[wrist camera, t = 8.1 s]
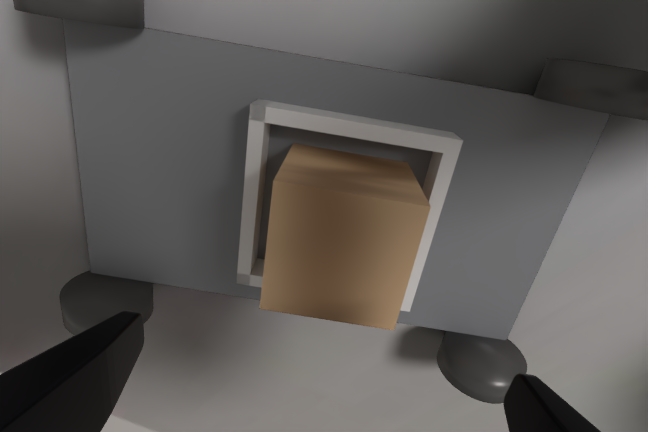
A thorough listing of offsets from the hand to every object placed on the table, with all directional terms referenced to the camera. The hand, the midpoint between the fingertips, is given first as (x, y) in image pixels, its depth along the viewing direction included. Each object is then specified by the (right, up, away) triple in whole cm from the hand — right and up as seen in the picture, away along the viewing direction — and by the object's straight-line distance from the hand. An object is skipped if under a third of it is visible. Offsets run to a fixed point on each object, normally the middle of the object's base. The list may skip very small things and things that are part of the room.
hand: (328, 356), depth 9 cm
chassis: (0, +4, +9) cm, 10 cm away
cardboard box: (+1, +4, +8) cm, 9 cm away
